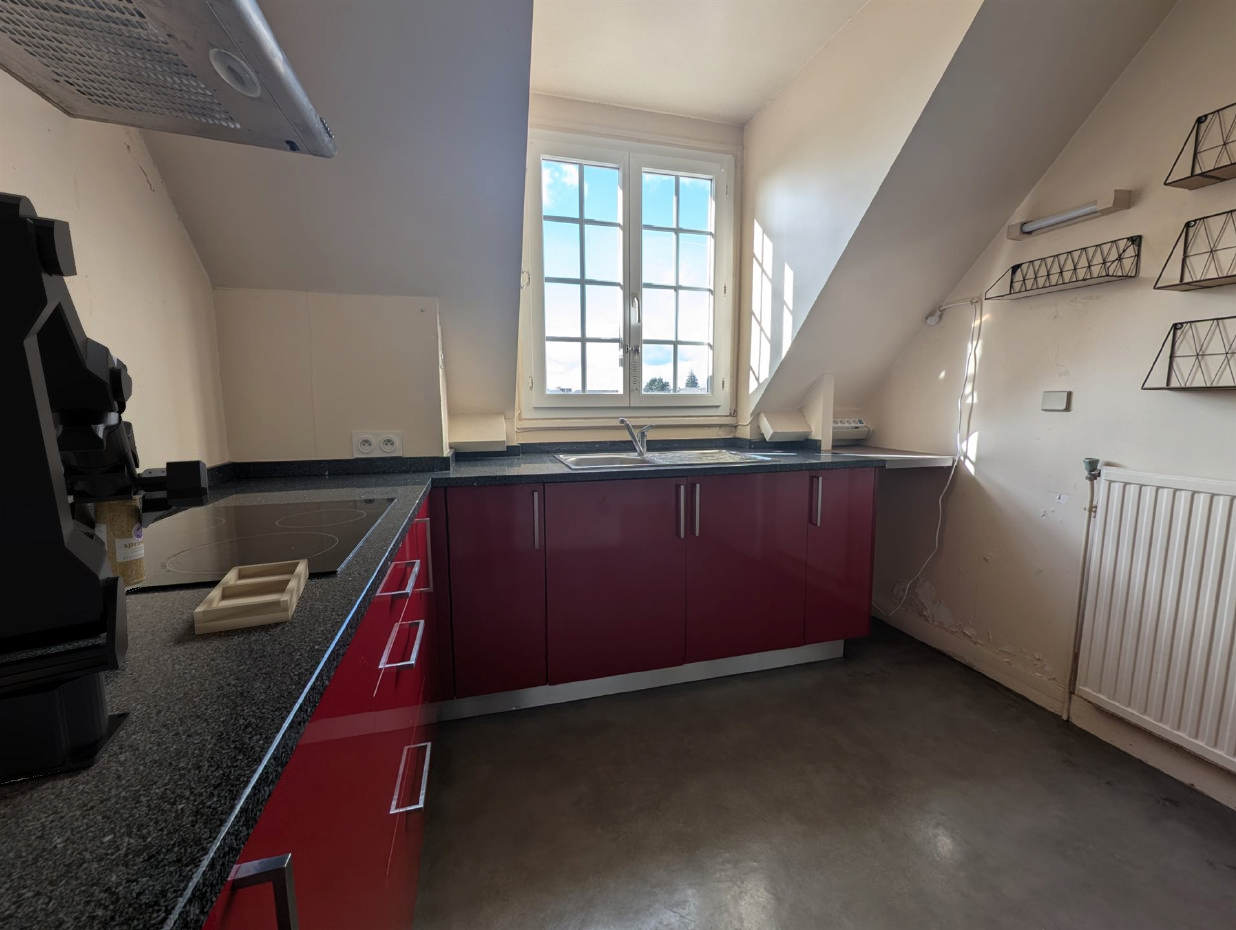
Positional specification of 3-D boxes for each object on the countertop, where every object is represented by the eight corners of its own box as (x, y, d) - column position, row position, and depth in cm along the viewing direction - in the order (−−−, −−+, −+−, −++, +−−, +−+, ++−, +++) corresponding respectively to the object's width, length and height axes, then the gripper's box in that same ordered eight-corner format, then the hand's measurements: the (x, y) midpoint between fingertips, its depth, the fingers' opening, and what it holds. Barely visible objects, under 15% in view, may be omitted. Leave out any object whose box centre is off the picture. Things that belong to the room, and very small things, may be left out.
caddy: (289, 620, 62) (288, 599, 62) (195, 634, 58) (193, 611, 58) (308, 576, 78) (307, 559, 77) (235, 585, 74) (233, 566, 74)
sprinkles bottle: (143, 586, 66) (135, 482, 64) (93, 592, 63) (84, 484, 62) (150, 576, 70) (143, 478, 68) (103, 582, 67) (95, 480, 66)
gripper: (199, 398, 66) (209, 474, 76) (-24, 397, 55) (21, 486, 65) (203, 463, 61) (213, 536, 71) (-44, 477, 50) (9, 561, 60)
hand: (121, 527), depth 67 cm, fingers closed on sprinkles bottle, 4 cm apart
